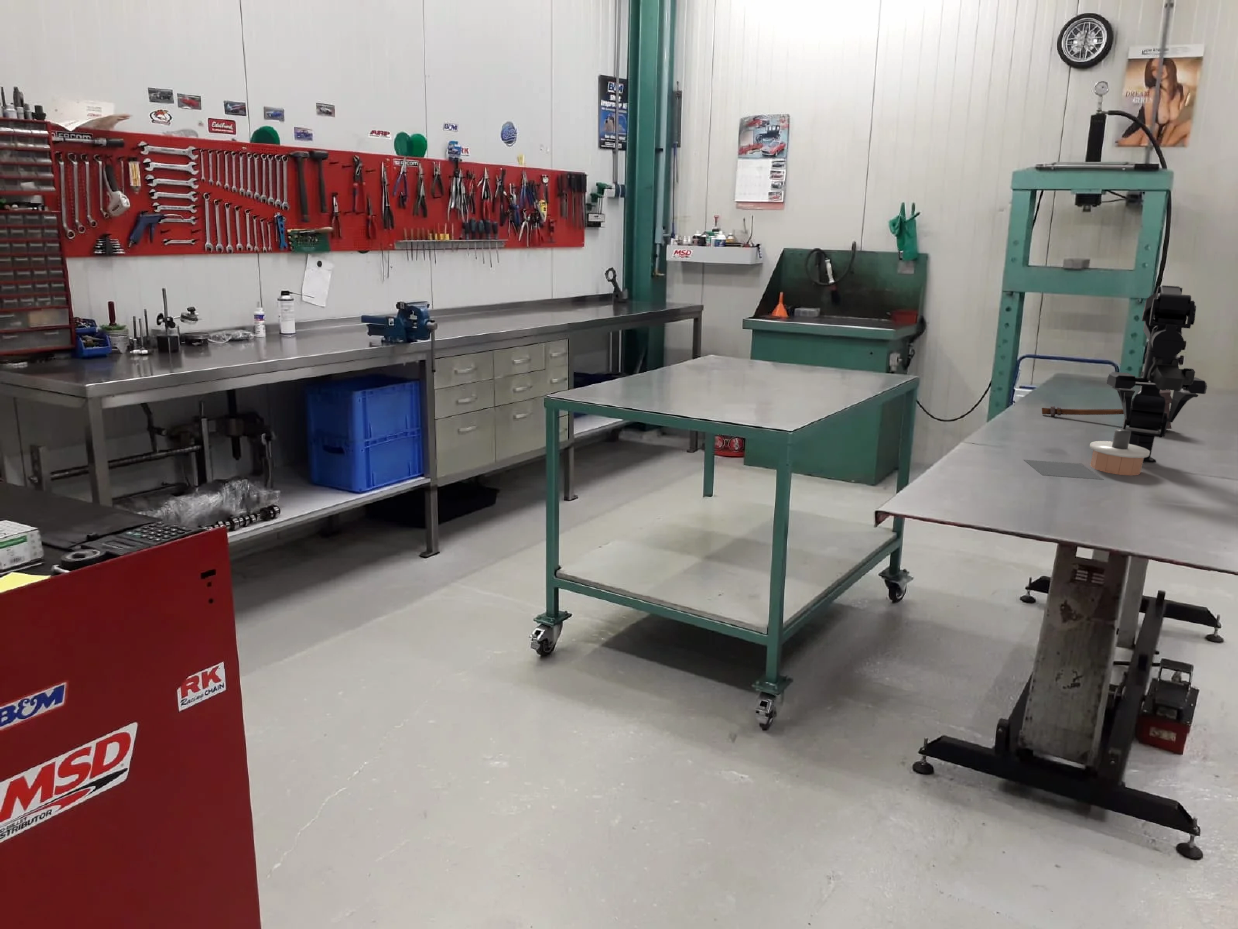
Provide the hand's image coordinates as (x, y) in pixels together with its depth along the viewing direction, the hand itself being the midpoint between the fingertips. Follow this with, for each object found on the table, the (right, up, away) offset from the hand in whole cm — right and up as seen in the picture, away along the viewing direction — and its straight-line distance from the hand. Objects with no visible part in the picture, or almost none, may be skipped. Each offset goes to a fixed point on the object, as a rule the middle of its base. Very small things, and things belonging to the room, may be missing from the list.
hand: (1148, 420), depth 204 cm
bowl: (-6, -11, +3) cm, 13 cm away
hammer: (+19, +2, +54) cm, 57 cm away
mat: (-19, -11, +1) cm, 22 cm away
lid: (-6, -7, +2) cm, 9 cm away
